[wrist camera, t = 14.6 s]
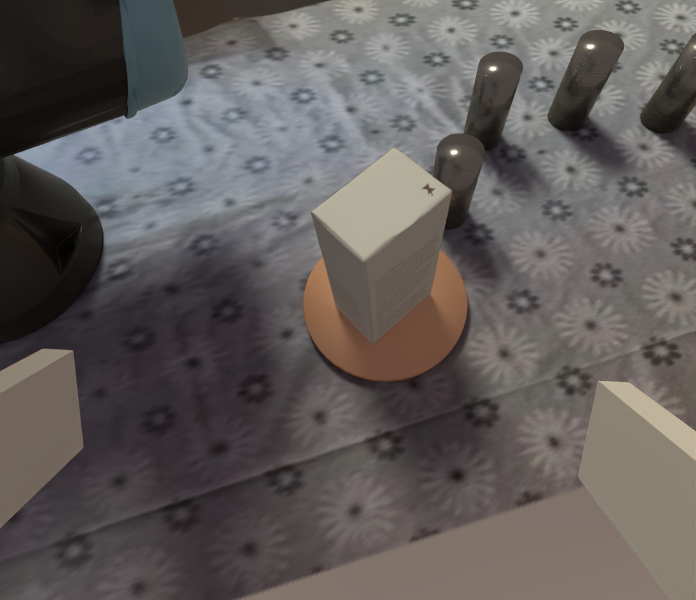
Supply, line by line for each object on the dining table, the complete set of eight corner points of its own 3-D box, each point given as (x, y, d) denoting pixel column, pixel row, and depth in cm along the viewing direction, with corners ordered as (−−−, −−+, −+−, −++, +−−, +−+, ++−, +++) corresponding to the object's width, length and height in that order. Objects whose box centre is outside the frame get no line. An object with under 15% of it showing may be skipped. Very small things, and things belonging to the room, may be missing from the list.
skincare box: (391, 257, 34) (396, 143, 24) (432, 293, 33) (457, 189, 22) (331, 307, 33) (307, 210, 22) (371, 347, 31) (366, 265, 21)
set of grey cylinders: (388, 182, 38) (389, 118, 32) (575, 51, 43) (609, -27, 37) (587, 365, 31) (641, 329, 24) (786, 180, 36) (874, 110, 29)
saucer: (274, 295, 35) (271, 290, 34) (392, 210, 37) (392, 204, 36) (374, 418, 30) (374, 416, 30) (500, 312, 33) (503, 308, 32)
